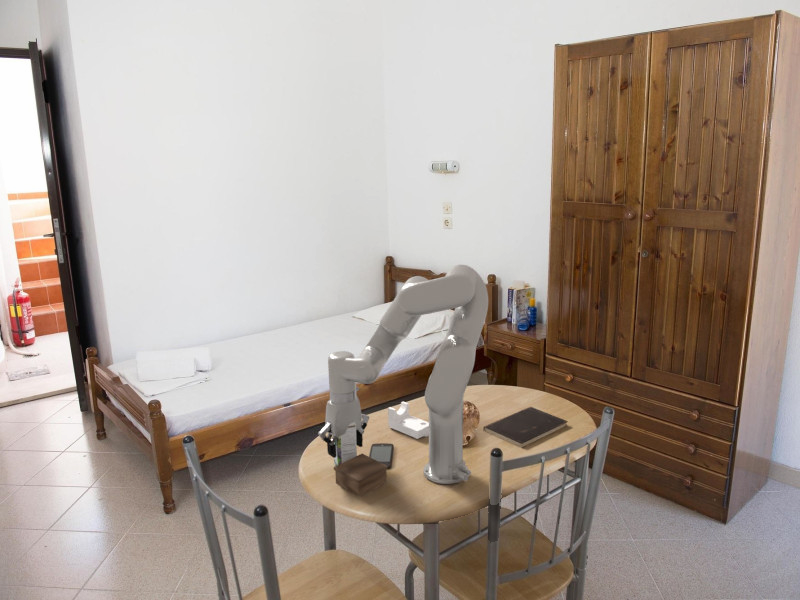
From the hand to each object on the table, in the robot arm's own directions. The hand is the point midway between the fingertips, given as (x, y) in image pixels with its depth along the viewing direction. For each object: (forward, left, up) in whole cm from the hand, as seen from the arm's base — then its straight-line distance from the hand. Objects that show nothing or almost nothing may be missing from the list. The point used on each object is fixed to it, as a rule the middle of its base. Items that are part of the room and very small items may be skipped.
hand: (345, 450), depth 183 cm
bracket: (+5, -29, -6) cm, 30 cm away
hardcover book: (-19, -58, -6) cm, 61 cm away
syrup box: (0, 0, -5) cm, 5 cm away
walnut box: (-10, +2, -5) cm, 12 cm away
